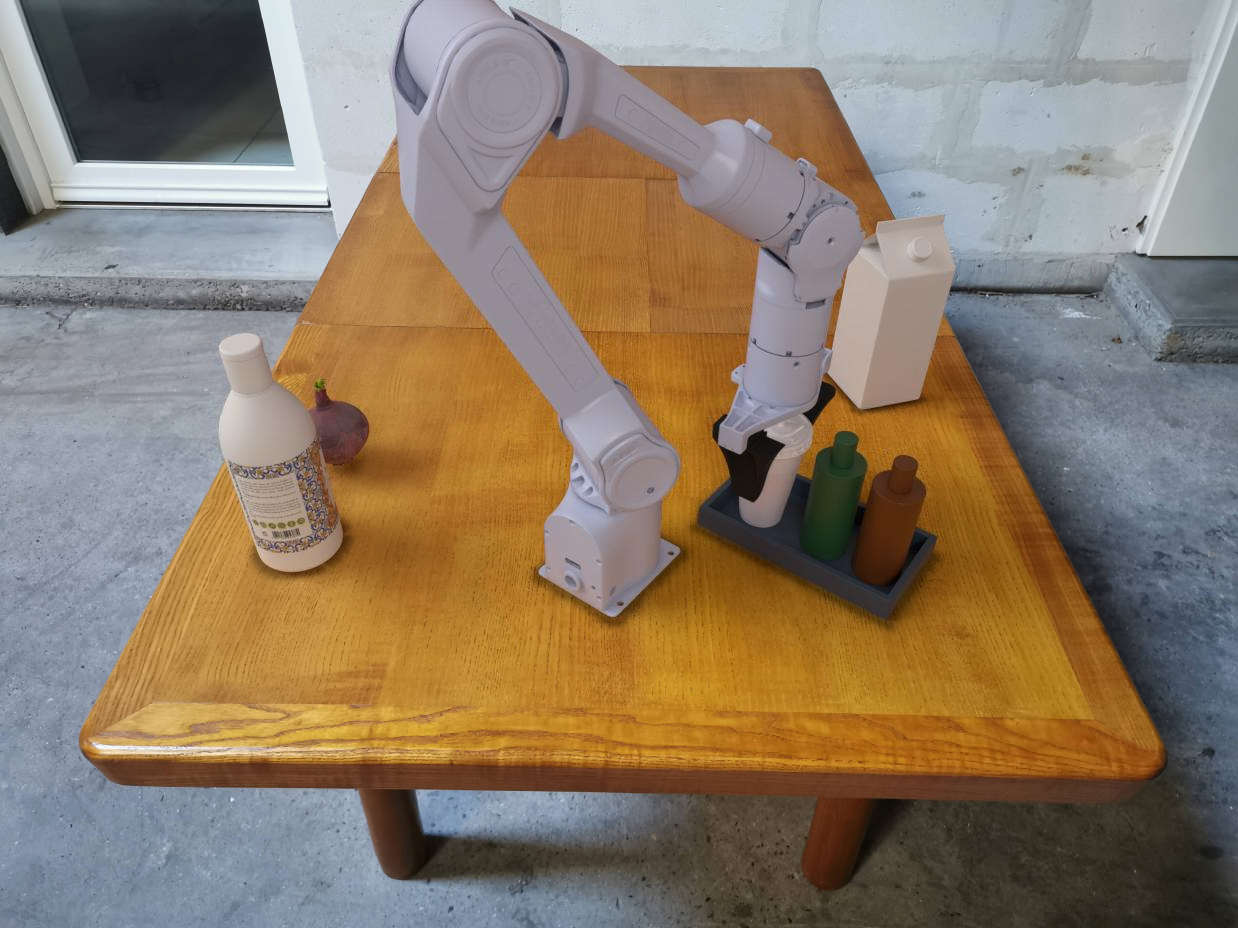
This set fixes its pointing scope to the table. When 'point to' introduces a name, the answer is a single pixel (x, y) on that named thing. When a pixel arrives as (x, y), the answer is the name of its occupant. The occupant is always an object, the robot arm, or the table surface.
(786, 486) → the smoothie
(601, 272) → the table surface
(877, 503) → the brown bottle
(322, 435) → the vegetable
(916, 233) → the milk carton
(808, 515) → the green bottle
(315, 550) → the bath foam
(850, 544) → the tray
